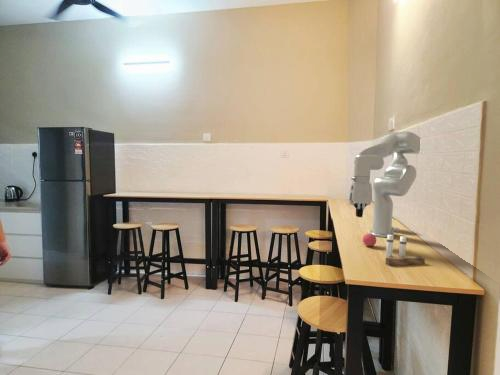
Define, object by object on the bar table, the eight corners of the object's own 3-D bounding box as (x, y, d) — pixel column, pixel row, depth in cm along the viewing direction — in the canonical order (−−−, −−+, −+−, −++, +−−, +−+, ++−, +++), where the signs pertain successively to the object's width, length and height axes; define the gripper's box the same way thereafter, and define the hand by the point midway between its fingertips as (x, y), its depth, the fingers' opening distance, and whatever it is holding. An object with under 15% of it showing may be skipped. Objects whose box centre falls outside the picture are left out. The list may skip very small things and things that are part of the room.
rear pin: (402, 257, 133) (403, 236, 132) (406, 259, 130) (408, 237, 129) (397, 257, 132) (398, 236, 131) (401, 259, 130) (402, 238, 129)
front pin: (389, 254, 136) (391, 234, 135) (393, 256, 133) (395, 235, 132) (384, 255, 135) (385, 234, 134) (388, 257, 133) (389, 236, 132)
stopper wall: (420, 262, 127) (421, 256, 127) (424, 263, 125) (424, 257, 125) (385, 263, 124) (385, 257, 123) (388, 265, 122) (389, 259, 121)
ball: (371, 244, 152) (372, 232, 152) (378, 247, 146) (379, 235, 146) (360, 244, 151) (360, 232, 150) (367, 248, 145) (367, 235, 145)
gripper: (351, 180, 150) (349, 218, 151) (379, 180, 153) (377, 218, 154) (343, 179, 157) (341, 215, 159) (370, 179, 160) (368, 215, 162)
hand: (359, 216), depth 156 cm, fingers closed
